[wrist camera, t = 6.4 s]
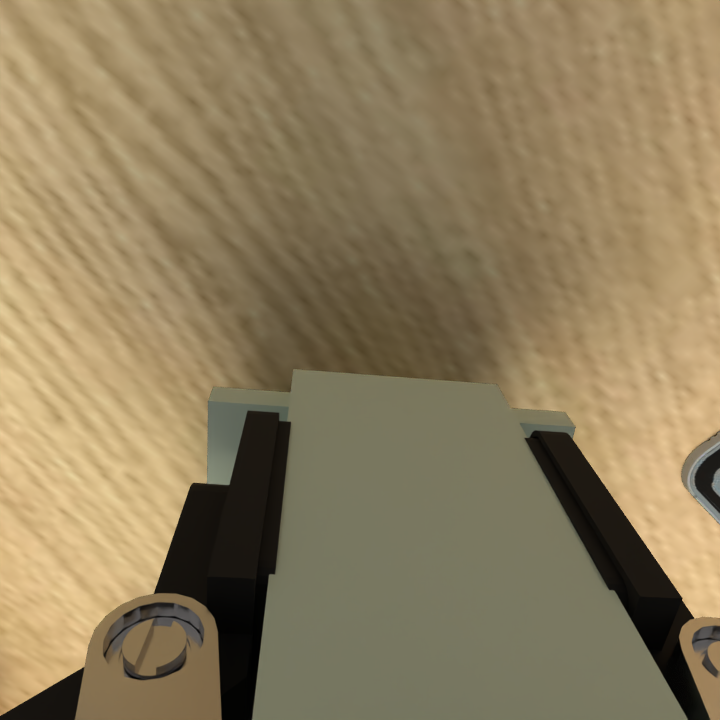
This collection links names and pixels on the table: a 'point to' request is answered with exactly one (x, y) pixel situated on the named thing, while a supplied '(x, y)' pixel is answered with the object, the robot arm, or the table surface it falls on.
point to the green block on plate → (429, 563)
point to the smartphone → (704, 475)
